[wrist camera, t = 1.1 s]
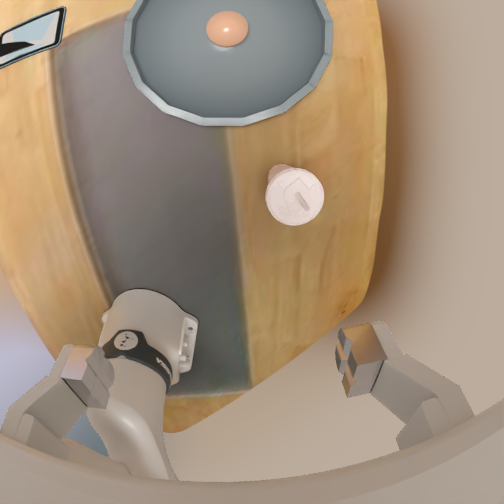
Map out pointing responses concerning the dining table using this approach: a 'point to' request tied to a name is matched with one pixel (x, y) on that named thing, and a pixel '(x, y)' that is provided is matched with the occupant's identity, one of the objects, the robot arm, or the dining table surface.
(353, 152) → the dining table surface
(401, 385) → the robot arm
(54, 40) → the smartphone
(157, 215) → the dining table surface
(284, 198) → the smoothie
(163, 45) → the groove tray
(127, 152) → the dining table surface
